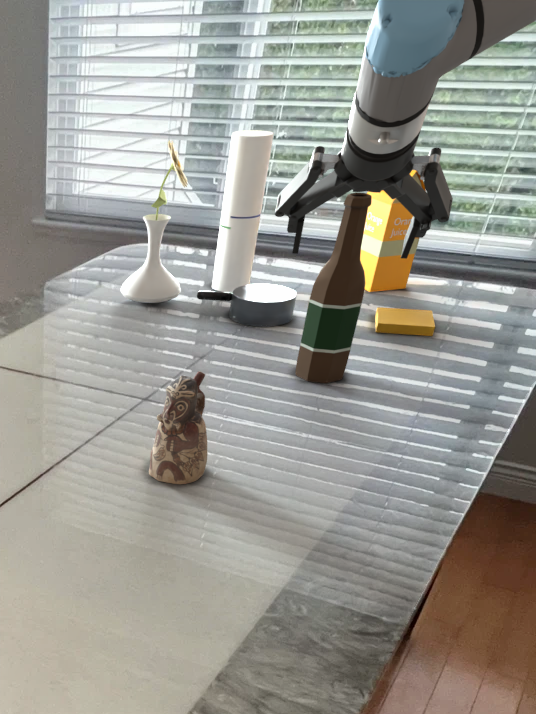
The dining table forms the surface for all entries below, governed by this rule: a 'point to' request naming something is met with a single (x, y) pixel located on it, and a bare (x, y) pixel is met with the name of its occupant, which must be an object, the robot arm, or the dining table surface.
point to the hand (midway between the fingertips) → (350, 246)
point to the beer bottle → (335, 300)
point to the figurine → (181, 434)
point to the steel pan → (257, 304)
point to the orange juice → (387, 242)
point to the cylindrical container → (241, 208)
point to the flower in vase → (155, 252)
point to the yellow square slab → (404, 321)
